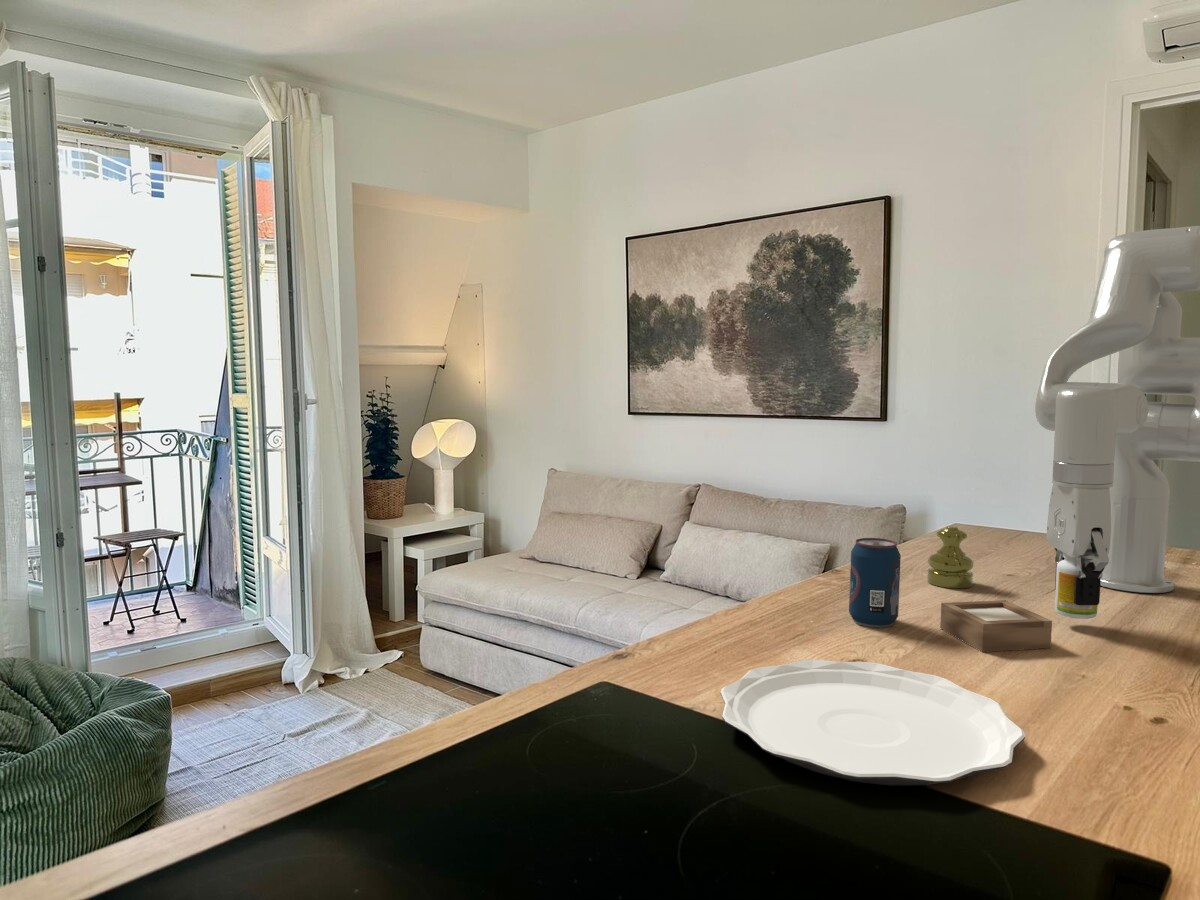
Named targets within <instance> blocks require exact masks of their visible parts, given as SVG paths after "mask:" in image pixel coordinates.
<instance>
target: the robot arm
mask: <svg viewBox="0 0 1200 900" xmlns="http://www.w3.org/2000/svg"><path fill="white" fill-rule="evenodd" d="M1103 258H1104V259H1103V262H1102V266H1101V270H1100V274H1099V278H1098V282H1097V287H1096V290H1095V293H1094V294H1095V295H1094V299H1093V303H1092V307H1091V311H1090V316H1089V319H1088V321H1087V322H1086V323H1085V324H1083V325H1082V326H1081V327H1079V328H1078V329H1077V330H1075V331H1074V332H1073V333H1071V334H1070V335H1069V336H1068V337H1066V338H1065V339H1064V341H1062V342H1061V343H1060V344H1059V345H1058V346H1057V347H1056V349H1055V350H1054V351H1053V352H1052V353H1051V355H1050V356H1049V357H1048V359H1047V361H1046V363H1045V364H1044V367H1043V371H1042V375H1041V379H1040V382H1039V385H1038V390H1037V393H1036V399H1035V404H1034V405H1035V407H1034V412H1035V417H1036V420H1037V422H1038V424H1039V425H1040V426H1041V427H1042V428H1044V429H1045V430H1047V431H1051V432H1054V439H1053V441H1054V442H1053V458H1052V459H1053V460H1052V461H1053V463H1052V478H1051V479H1052V482H1051V483H1052V488H1051V491H1050V496H1049V505H1048V514H1047V524H1046V525H1047V526H1046V541H1047V543H1048V544H1049V545H1050V546H1052V547H1053V548H1054V550H1055V552H1056V554H1055V557H1054V562H1055V570H1056V569H1057V564H1058V563H1059V562H1060V561H1062V560H1064V557H1063V554H1062V553H1065V554H1067V555H1069V556H1070V557H1076V558H1077V568H1078V576H1079V577H1075V588H1074V603H1075V604H1076V605H1098V606H1099V604H1100V599H1101V586H1102V587H1105V588H1109V589H1113V590H1118V591H1125V592H1131V593H1132V592H1133V593H1140V594H1141V593H1142V594H1143V593H1144V594H1146V593H1147V594H1162V593H1169V592H1172V591H1173V590H1174V587H1175V583H1174V581H1173V580H1171V579H1170V578H1167V577H1165V576H1164V575H1165V561H1166V549H1167V535H1168V534H1167V533H1168V520H1169V505H1170V493H1171V490H1170V484H1169V480H1168V479H1167V477H1166V475H1165V474H1164V472H1163V471H1162V470H1161V469H1160V467H1159V466H1158V465H1157V464H1156V462H1155V460H1157V461H1159V460H1160V461H1161V460H1165V461H1166V460H1167V461H1180V462H1197V463H1198V462H1200V336H1199V337H1194V336H1193V337H1182V336H1181V330H1182V327H1181V326H1182V317H1183V309H1182V306H1181V304H1180V302H1179V301H1178V300H1177V298H1176V297H1175V296H1174V295H1173V293H1176V292H1177V293H1179V292H1195V291H1196V292H1198V291H1200V225H1191V226H1182V227H1181V226H1180V227H1173V228H1172V227H1171V228H1170V227H1169V228H1157V229H1147V230H1138V231H1133V232H1132V231H1131V232H1126V233H1123V234H1119V235H1117V236H1115V237H1112V238H1111V239H1110V240H1109V241H1108V242H1107V243H1106V245H1105V247H1104V253H1103ZM1117 353H1118V360H1117V361H1118V362H1117V380H1118V382H1116V383H1115V382H1093V381H1092V382H1088V381H1087V382H1086V381H1084V382H1081V381H1080V382H1079V381H1077V382H1076V381H1069V379H1070V378H1071V377H1072V376H1073V374H1074V373H1076V371H1078V370H1079V369H1081V368H1082V367H1084V366H1086V365H1087V364H1090V363H1092V362H1094V361H1097V360H1100V359H1101V358H1105V357H1107V356H1111V355H1113V354H1117ZM1146 395H1164V396H1165V395H1170V396H1173V395H1174V396H1191V397H1193V398H1194V399H1195V403H1193V402H1192V403H1187V402H1186V403H1185V402H1183V403H1182V402H1163V401H1148V398H1147V396H1146ZM1086 551H1093V554H1094V555H1084V553H1085V552H1086ZM1084 560H1092V562H1089V563H1088V564H1087V566H1086V567H1085V561H1084ZM1055 589H1056V575H1055V581H1054V590H1055Z"/></svg>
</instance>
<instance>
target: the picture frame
mask: <svg viewBox="0 0 1200 900" xmlns="http://www.w3.org/2000/svg"><path fill="white" fill-rule="evenodd" d="M939 624H940V627H939V629H940V628H941V629H940V630H942V629H943V630H945V631H946V632H945V631H944V632H945V633H947V632H948V633H947V634H949V633H950V634H952V635H954V636H956V637H957V638H956V637H955V638H956V639H958V638H959V639H961V640H963V641H964V642H963V641H962V642H963V643H965V642H966V643H965V644H967V643H968V644H970V645H972V646H973V647H972V646H971V647H972V648H974V647H975V648H974V649H976V648H977V649H979V650H980V652H981V651H982V652H981V653H990V652H989V651H994V652H1009V650H1013V651H1021V650H1020V649H1031V650H1040V649H1039V648H1049V649H1051V648H1052V631H1053V630H1052V627H1053V620H1051V619H1049V618H1047V617H1045V616H1042V615H1040V614H1037V613H1036V612H1033V611H1031V610H1030V609H1029V610H1028V609H1027V608H1023V607H1022V606H1019V605H1017V604H1015V603H1013V602H1010V601H1008V600H1004V599H1003V600H1001V599H999V600H980V601H979V600H978V601H956V602H941V606H940V623H939ZM943 630H942V631H943ZM950 634H949V635H950ZM952 635H951V636H952ZM954 636H953V637H954ZM959 639H958V640H959ZM961 640H960V641H961ZM968 644H967V645H968ZM970 645H969V646H970ZM977 649H976V650H977ZM979 650H978V651H979Z"/></svg>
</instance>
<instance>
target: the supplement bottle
mask: <svg viewBox="0 0 1200 900" xmlns="http://www.w3.org/2000/svg"><path fill="white" fill-rule="evenodd" d="M1062 554H1063V557H1064V560H1062V561H1060V562H1059V563H1058V564H1056V565H1057V569H1056V568H1055V576H1056V589H1055V588H1054V590H1055V591H1054V610H1055V612H1056V614H1058V615H1061V616H1064V617H1066V618H1069V619H1070V618H1071V619H1080V620H1081V619H1082V620H1083V619H1084V620H1085V619H1086V620H1088V619H1094V618H1095V617H1097V616H1098V606H1099V604H1098V605H1076V604H1075V603H1074V588H1075V577H1079V576H1078V568H1077V558H1076V557H1070V556H1069V555H1067V554H1065V553H1062ZM1084 555H1094V554H1093V551H1086V552H1085V553H1084ZM1084 561H1085V567H1086V566H1087V564H1088V563H1089V562H1092V560H1084Z"/></svg>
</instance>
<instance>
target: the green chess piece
mask: <svg viewBox="0 0 1200 900" xmlns="http://www.w3.org/2000/svg"><path fill="white" fill-rule="evenodd" d="M936 536H937V537H938V538H939V539H940V540H941V541H942V546H941V547H940V548H939V549H937V550H936V551H935V552H934V553H932V554H930V555H929V556H928V557H927V563H928V565H929V568H927V569H926V570H927V578H926V579H927V580H926V581H927V582H928V583H929V584H931V585H933V586H935V587H939V588H944V589H946V588H947V589H954V588H957V590H958V589H959V588H961V589H967V588H970V587H972V586H973V582H974V580H973V579H974V573H973V572H972V571H971V570H972V569H973V568H974V565H975V562H974V560H973V558H972V557H970V556H969V555H968V554H967V553H966V552H965V551H964V550H963V549H962V547H961V546H960V545H961V543H962V542H963V541H964V540H965V539H967V538H968V533H967V532H965V531H964V530H962V529H959V527H957V526H955V525H954V526H951V525H950V526H946V527H945V528H942V529H940V530H937V531H936ZM966 554H967V555H966Z"/></svg>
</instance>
